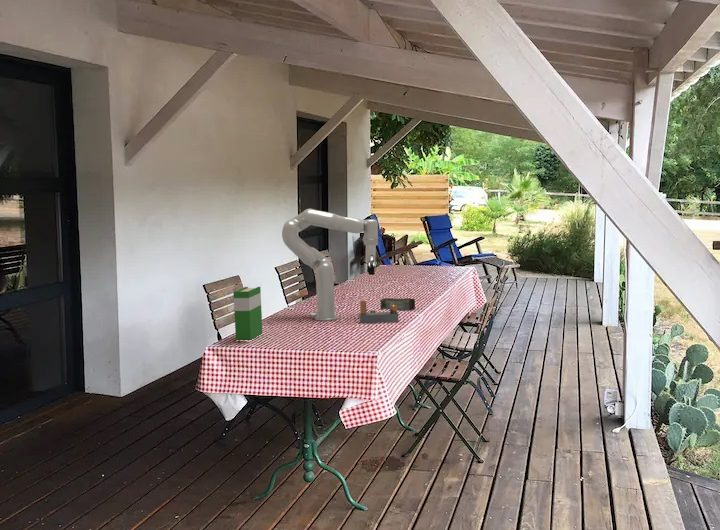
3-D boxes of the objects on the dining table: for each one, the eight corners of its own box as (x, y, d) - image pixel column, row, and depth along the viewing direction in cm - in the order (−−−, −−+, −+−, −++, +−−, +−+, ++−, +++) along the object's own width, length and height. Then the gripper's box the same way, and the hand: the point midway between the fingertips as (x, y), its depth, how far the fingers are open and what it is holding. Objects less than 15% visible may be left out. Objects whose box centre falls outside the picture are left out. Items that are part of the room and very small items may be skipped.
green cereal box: (248, 334, 354) (245, 286, 352) (262, 334, 353) (260, 286, 350) (236, 342, 337) (233, 291, 334) (251, 342, 335) (248, 291, 333)
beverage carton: (386, 307, 424) (385, 296, 423) (415, 309, 415) (415, 297, 414) (380, 309, 417) (379, 298, 416) (410, 311, 408) (410, 300, 407)
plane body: (360, 323, 373) (359, 302, 372) (359, 321, 380) (358, 300, 379) (398, 322, 375) (397, 300, 373) (396, 319, 381) (396, 298, 380)
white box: (367, 319, 387) (367, 311, 386) (367, 317, 392) (367, 309, 391) (385, 319, 386) (385, 311, 386) (386, 317, 391) (385, 309, 391)
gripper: (363, 241, 395) (363, 272, 397) (364, 243, 378) (365, 275, 380) (376, 241, 396) (376, 271, 398) (379, 243, 379) (379, 275, 380)
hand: (370, 273), depth 389 cm, fingers open, 9 cm apart
